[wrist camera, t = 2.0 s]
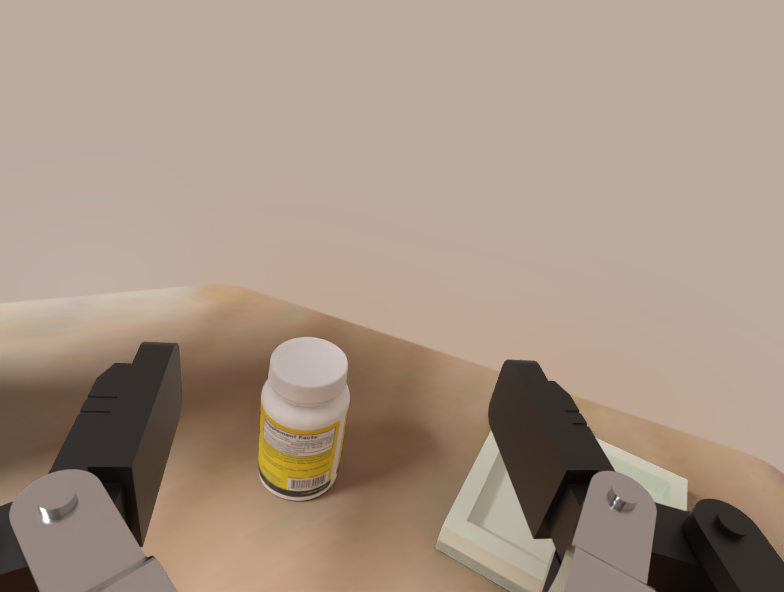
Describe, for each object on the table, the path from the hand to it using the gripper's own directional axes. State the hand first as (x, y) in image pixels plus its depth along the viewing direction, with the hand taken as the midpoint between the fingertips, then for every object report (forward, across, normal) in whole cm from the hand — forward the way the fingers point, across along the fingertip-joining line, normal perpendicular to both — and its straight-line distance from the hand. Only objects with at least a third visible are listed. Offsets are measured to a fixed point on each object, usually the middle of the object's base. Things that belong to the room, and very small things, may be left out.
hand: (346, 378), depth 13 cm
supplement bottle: (+12, 0, +17) cm, 21 cm away
